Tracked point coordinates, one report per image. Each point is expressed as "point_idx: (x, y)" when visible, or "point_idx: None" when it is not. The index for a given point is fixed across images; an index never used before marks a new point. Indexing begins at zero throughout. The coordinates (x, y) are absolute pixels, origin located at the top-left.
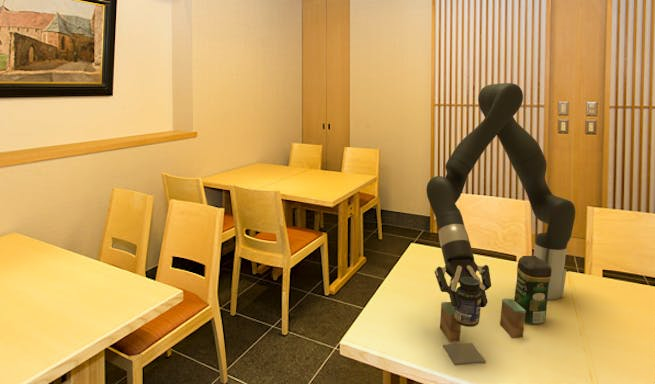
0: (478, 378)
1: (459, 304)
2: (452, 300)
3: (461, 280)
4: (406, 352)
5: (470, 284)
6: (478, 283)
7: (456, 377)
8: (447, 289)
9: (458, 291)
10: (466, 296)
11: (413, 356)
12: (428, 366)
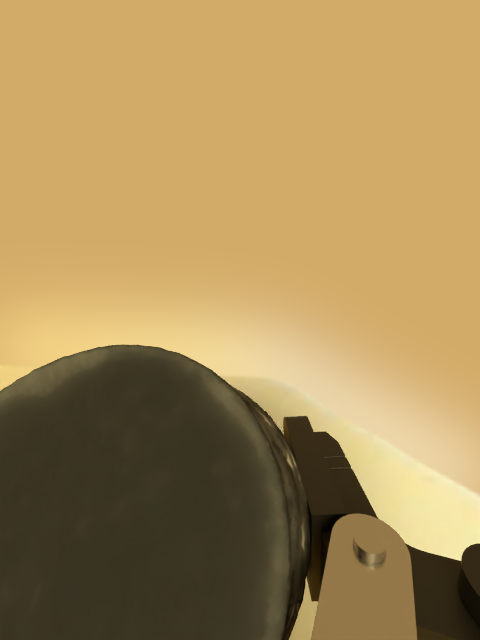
0: (228, 376)
1: (289, 419)
2: (346, 463)
3: (261, 566)
4: (438, 532)
5: (164, 357)
6: (7, 391)
7: (285, 382)
8: (449, 569)
9: (296, 498)
10: (236, 390)
11: (409, 501)
12: (359, 437)
